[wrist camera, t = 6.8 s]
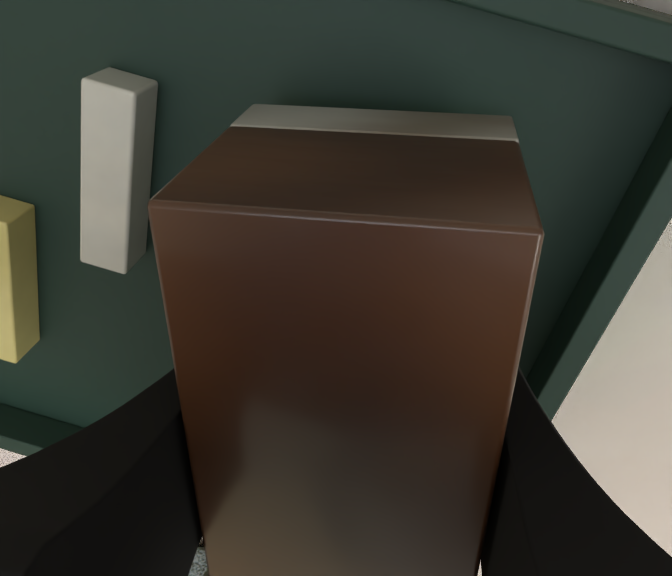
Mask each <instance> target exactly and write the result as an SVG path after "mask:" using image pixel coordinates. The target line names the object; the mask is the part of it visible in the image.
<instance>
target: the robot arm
mask: <svg viewBox="0 0 672 576" xmlns="http://www.w3.org/2000/svg"><path fill="white" fill-rule="evenodd" d="M201 538H202V532H201V526H200V520H199V514H198V508H197V502H196V496H195V490H194V484H193V478H192V472H191V466H190V460H189V454H188V448H187V442H186V436H185V430H184V424H183V418H182V412H181V406H180V400H179V394H178V388H177V382H176V376H175V370H174V368H173V369H172V370H171V371H169V372H168V373H167V374H166V375H164V376H163V377H162V378H160V379H159V380H158V381H156V382H155V383H153V384H152V385H151V386H149V387H148V388H146V389H145V390H144V391H142V392H141V393H139V394H138V395H136V396H135V397H134V398H132V399H131V400H129V401H128V402H126V403H125V404H123V405H122V406H120V407H119V408H117V409H116V410H114V411H112V412H111V413H109V414H108V415H106V416H104V417H103V418H101V419H99V420H97V421H96V422H94V423H92V424H90V425H89V426H87V427H85V428H84V429H82V430H80V431H78V432H76V433H74V434H72V435H70V436H68V437H66V438H64V439H62V440H60V441H58V442H56V443H54V444H52V445H50V446H48V447H46V448H44V449H42V450H40V451H38V452H36V453H34V454H31V455H29V456H27V457H25V458H22V459H20V460H18V461H15V462H13V463H11V464H8V465H6V466H3V467H1V468H0V576H188V575H189V572H190V569H191V566H192V563H193V560H194V557H195V554H196V551H197V548H198V545H199V543H200V540H201ZM481 568H482V576H672V557H671V556H670V555H669V554H668V553H666V552H665V551H664V550H663V549H662V548H661V547H660V546H659V545H657V544H656V543H655V542H654V541H653V540H652V539H651V538H650V537H649V536H648V535H647V534H646V533H645V532H644V531H643V530H642V529H640V528H639V527H638V526H637V525H636V524H635V523H634V522H633V521H632V520H631V519H630V518H629V517H628V516H627V515H626V514H625V513H624V512H623V511H622V510H621V509H620V508H619V507H618V506H617V505H616V504H615V503H614V502H613V501H612V500H611V498H610V497H609V496H608V495H607V494H606V493H605V492H604V490H603V489H602V488H601V487H600V486H599V485H598V484H597V483H596V481H595V480H594V479H593V478H592V477H591V475H590V474H589V473H588V472H587V470H586V469H585V468H584V467H583V465H582V464H581V463H580V462H579V460H578V459H577V458H576V456H575V455H574V454H573V452H572V451H571V450H570V448H569V447H568V446H567V444H566V443H565V441H564V440H563V439H562V437H561V436H560V434H559V433H558V431H557V430H556V428H555V427H554V425H553V424H552V422H551V421H550V419H549V418H548V416H547V415H546V413H545V412H544V410H543V408H542V407H541V405H540V403H539V402H538V400H537V398H536V397H535V395H534V393H533V392H532V390H531V388H530V386H529V384H528V383H527V381H526V379H525V377H524V375H523V373H522V371H521V369H520V367H519V366H518V371H517V376H516V381H515V387H514V392H513V397H512V402H511V407H510V412H509V417H508V422H507V427H506V432H505V437H504V442H503V448H502V453H501V458H500V463H499V468H498V473H497V478H496V483H495V488H494V493H493V498H492V504H491V509H490V514H489V519H488V524H487V529H486V534H485V539H484V544H483V549H482V554H481Z"/></svg>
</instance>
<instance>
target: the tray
mask: <svg viewBox="0 0 672 576" xmlns="http://www.w3.org/2000/svg"><path fill="white" fill-rule="evenodd" d="M107 67H111V68H115V69H118V70H122V71H125V72H129V73H132V74H135V75H139V76H142V77H146V78H149V79H153V80H156V81H157V82H158V91H157V105H156V119H155V132H154V146H153V160H152V173H151V187H150V199H151V198H152V197H153V196H154V195H155V194H156V193H158V192H159V191H160V190H161V189H162V188H163V187H164V186H165V185H166V184H167V183H168V182H170V181H171V180H172V179H173V178H174V177H175V176H176V175H177V174H178V173H179V172H180V171H182V170H183V169H184V168H185V167H186V166H187V165H188V164H189V163H190V162H191V161H192V160H194V159H195V158H196V157H197V156H198V155H199V154H200V153H201V152H202V151H203V150H204V149H206V148H207V147H208V146H209V145H210V144H211V143H212V142H213V141H214V140H215V139H217V138H218V137H219V136H220V135H221V134H222V133H223V132H224V131H225V130H226V129H227V128H229V127H230V125H231V124H232V123H233V122H234V121H235V120H236V119H237V118H238V117H239V116H241V115H242V114H243V113H244V112H245V111H246V110H247V109H248V108H249V107H250V106H252V105H253V104H268V105H289V106H310V107H332V108H353V109H374V110H396V111H417V112H438V113H460V114H481V115H502V116H511V117H512V119H513V122H514V126H515V129H516V133H517V136H518V140H519V146H520V149H521V153H522V156H523V160H524V164H525V167H526V171H527V174H528V178H529V181H530V185H531V188H532V192H533V195H534V199H535V202H536V206H537V209H538V213H539V216H540V220H541V223H542V227H543V231H544V239H543V244H542V249H541V254H540V259H539V264H538V269H537V275H536V280H535V285H534V290H533V295H532V300H531V305H530V310H529V315H528V320H527V325H526V331H525V336H524V341H523V346H522V351H521V356H520V361H519V367H520V369H521V371H522V373H523V375H524V377H525V379H526V381H527V383H528V384H529V386H530V388H531V390H532V392H533V393H534V395H535V397H536V398H537V400H538V402H539V403H540V405H541V407H542V408H543V410H544V412H545V413H546V415H547V416H548V418H549V419H550V421H552V419H553V417H554V416H555V414H556V412H557V410H558V409H559V407H560V405H561V404H562V402H563V400H564V399H565V397H566V395H567V394H568V392H569V390H570V388H571V387H572V385H573V383H574V382H575V380H576V378H577V377H578V375H579V373H580V372H581V370H582V368H583V366H584V365H585V363H586V361H587V360H588V358H589V356H590V355H591V353H592V351H593V350H594V348H595V346H596V344H597V343H598V341H599V339H600V338H601V336H602V334H603V333H604V331H605V329H606V328H607V326H608V324H609V323H610V321H611V319H612V317H613V316H614V314H615V312H616V311H617V309H618V307H619V306H620V304H621V302H622V301H623V299H624V297H625V295H626V294H627V292H628V290H629V289H630V287H631V285H632V284H633V282H634V280H635V279H636V277H637V275H638V273H639V272H640V270H641V268H642V267H643V265H644V263H645V262H646V260H647V258H648V257H649V255H650V253H651V251H652V250H653V248H654V246H655V245H656V243H657V241H658V240H659V238H660V236H661V235H662V233H663V231H664V230H665V228H666V226H667V224H668V223H669V221H670V219H671V218H672V15H669V14H666V13H662V12H659V11H655V10H652V9H648V8H644V7H641V6H637V5H634V4H630V3H626V2H623V1H619V0H0V195H3V196H6V197H9V198H13V199H16V200H20V201H23V202H26V203H30V204H33V205H34V206H35V224H36V249H37V275H38V301H39V326H40V340H39V341H38V342H37V343H36V344H35V345H34V346H33V347H32V348H31V349H30V350H29V351H28V352H27V353H26V354H25V355H24V356H23V357H22V358H21V359H20V360H19V361H18V362H17V363H11V362H8V361H4V360H1V359H0V448H1V449H5V450H8V451H11V452H15V453H18V454H21V455H25V456H29V455H31V454H34V453H36V452H38V451H40V450H42V449H44V448H46V447H48V446H50V445H52V444H54V443H56V442H58V441H60V440H62V439H64V438H66V437H68V436H70V435H72V434H74V433H76V432H78V431H80V430H82V429H84V428H85V427H87V426H89V425H90V424H92V423H94V422H96V421H97V420H99V419H101V418H103V417H104V416H106V415H108V414H109V413H111V412H112V411H114V410H116V409H117V408H119V407H120V406H122V405H123V404H125V403H126V402H128V401H129V400H131V399H132V398H134V397H135V396H136V395H138V394H139V393H141V392H142V391H144V390H145V389H146V388H148V387H149V386H151V385H152V384H153V383H155V382H156V381H158V380H159V379H160V378H162V377H163V376H164V375H166V374H167V373H168V372H169V371H171V370H172V369H173V368H174V364H173V358H172V352H171V346H170V340H169V334H168V328H167V322H166V316H165V310H164V304H163V298H162V292H161V286H160V280H159V274H158V268H157V263H156V257H155V251H154V245H153V239H152V233H151V227H150V221H149V215H148V228H147V242H146V253H145V254H144V255H143V256H142V257H141V258H140V260H139V261H138V262H137V263H136V264H135V265H134V266H133V267H132V268H131V269H130V270H129V271H128V272H127V274H121V273H118V272H114V271H111V270H107V269H104V268H100V267H97V266H94V265H90V264H87V263H83V262H81V260H80V189H81V80H82V78H83V77H86V76H88V75H90V74H93V73H95V72H97V71H100V70H102V69H104V68H107Z"/></svg>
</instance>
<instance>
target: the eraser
mask: <svg viewBox="0 0 672 576" xmlns="http://www.w3.org/2000/svg"><path fill="white" fill-rule="evenodd" d="M147 209H148V215H149V221H150V227H151V233H152V239H153V245H154V251H155V257H156V263H157V268H158V274H159V280H160V286H161V292H162V298H163V304H164V310H165V316H166V322H167V328H168V334H169V340H170V346H171V352H172V358H173V364H174V370H175V376H176V382H177V388H178V394H179V400H180V406H181V412H182V418H183V424H184V430H185V436H186V442H187V448H188V454H189V460H190V466H191V472H192V478H193V484H194V490H195V496H196V502H197V508H198V514H199V520H200V526H201V532H202V538H203V544H204V550H205V556H206V562H207V568H208V574H209V576H477V575H478V570H479V565H480V559H481V554H482V549H483V544H484V539H485V534H486V529H487V524H488V519H489V514H490V509H491V504H492V498H493V493H494V488H495V483H496V478H497V473H498V468H499V463H500V458H501V453H502V448H503V442H504V437H505V432H506V427H507V422H508V417H509V412H510V407H511V402H512V397H513V392H514V387H515V381H516V376H517V371H518V366H519V361H520V356H521V351H522V346H523V341H524V336H525V331H526V325H527V320H528V315H529V310H530V305H531V300H532V295H533V290H534V285H535V280H536V275H537V269H538V264H539V259H540V254H541V249H542V244H543V239H544V231H543V227H542V223H541V220H540V216H539V213H538V209H537V206H536V202H535V199H534V195H533V192H532V188H531V185H530V181H529V178H528V174H527V171H526V167H525V164H524V160H523V156H522V153H521V149H520V146H519V140H518V136H517V133H516V129H515V126H514V122H513V119H512V117H511V116H502V115H481V114H460V113H438V112H417V111H396V110H374V109H353V108H332V107H310V106H289V105H268V104H253V105H252V106H250V107H249V108H248V109H247V110H246V111H245V112H244V113H243V114H242V115H241V116H239V117H238V118H237V119H236V120H235V121H234V122H233V123H232V124H231V125H230V127H229V128H227V129H226V130H225V131H224V132H223V133H222V134H221V135H220V136H219V137H218V138H217V139H215V140H214V141H213V142H212V143H211V144H210V145H209V146H208V147H207V148H206V149H204V150H203V151H202V152H201V153H200V154H199V155H198V156H197V157H196V158H195V159H194V160H192V161H191V162H190V163H189V164H188V165H187V166H186V167H185V168H184V169H183V170H182V171H180V172H179V173H178V174H177V175H176V176H175V177H174V178H173V179H172V180H171V181H170V182H168V183H167V184H166V185H165V186H164V187H163V188H162V189H161V190H160V191H159V192H158V193H156V194H155V195H154V196H153V197H152V198H151V199H150V200H149V201H148V205H147Z"/></svg>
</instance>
